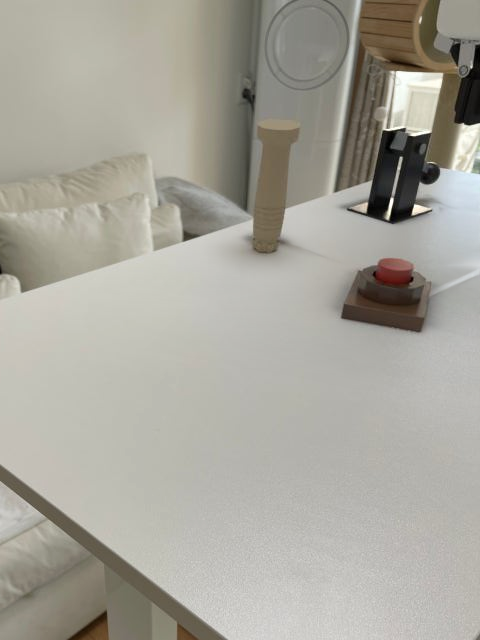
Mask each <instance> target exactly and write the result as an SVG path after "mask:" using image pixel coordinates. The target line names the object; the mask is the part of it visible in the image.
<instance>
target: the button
mask: <svg viewBox="0 0 480 640" xmlns="http://www.w3.org/2000/svg"><path fill="white" fill-rule="evenodd" d="M414 266H415V265H414V264H413V263H412V262H410V261H408V260H406V259H402V258H398V257H385V258H381V259H379V260H378V262H377V269H376V274H375V278H376V279H377V280H379V281H382V282H384V283H390V284H396V285H397V284H408V283H410V280H411V276H412V272H413V271H414V268H415V267H414Z"/></svg>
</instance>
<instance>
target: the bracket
mask: <svg viewBox="0 0 480 640" xmlns="http://www.w3.org/2000/svg"><path fill="white" fill-rule="evenodd" d="M397 131H400V132H405V133H407V132H406V131H407V127H406V126H396V127H391V128H386V129H382V131H381V134H380V135H381V136H380V141H379V146H378V150H377V155H376V161H375V164H374V165H375V166H374V171H373V176H372V181H371V186H370V192H369V196H368V201H366V202H364V203H360V204H357V205H353V206H350V207H347V208H346V211H348V212H352V213H354V214H358V215H361V216H365V217H368V218H371V219H374V220H378V221H381V222H385V223H387V224H391V225H395V224H399V223H401V222H404V221H408V220H411V219H413V218H417V217H419V216H422V215H425V214H429V213H431V212H433V208H430V207H427V206H423V205H420V204H415V203H416V199H417V197H418V196H417V195H418V192H419V187H420V183H421V182H420V179H421V175H422V171H423V167H424V162H426V159H427V154H428V150H429V146H430V141H431V137H432V132H431V131H426V130H425V131H420V132H415V133H411V135H408V136H407V140H406V145H405V149H404V154H403V157H400V156H397V155H396V154H395V153H394V152H393V151H392V150H391V149H390V146H391V144H392V142H393V140H394V138H395V135H396V133H397ZM401 158H402V159H401ZM400 159H401V163H400ZM399 163H400V167H399ZM398 168H399V171H398ZM397 174H398V178H397V182H396V177H397ZM395 182H396V187H395ZM394 187H395V191H394ZM393 191H394V194H393ZM392 195H393V197H392Z"/></svg>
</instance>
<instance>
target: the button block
mask: <svg viewBox="0 0 480 640" xmlns="http://www.w3.org/2000/svg"><path fill="white" fill-rule="evenodd" d="M377 265H378V264H377ZM377 265H376V264H375V265H371V266H367V267H365V268H364V267H363V268H362V270H357V273H356V275H355V278H354V279H353V282H352V284H351V287H350V288H349V291H348V293H347V295H346V298H345V300H344V302H343V305H342V310H341V316H340V318H341V319H343V320H349V321H355V322H360V323H365V324H370V325H377V326H382V327H386V326H387V327H388V328H392V327H394V328H393V329H397V328H399V329H398V330H403V329H404V331H408V330H410V331H409V332H414V331H415V332H414V333H419V332H421V333H422V330H423V327H424V323H425V319H426V313H427V309H428V303H429V299H430V298H429V297H430V292H431V287H432V281H428V280H427V278H426V277H425V276H423V275H422V274H421V273H420V272H419V271H415V270H413V272H412V276H411V280H410V283H408V284H397V285H396V284H390V283H384V282H382V281H379V280H377V279H376V278H375V274H376V269H377ZM387 327H386V328H387Z"/></svg>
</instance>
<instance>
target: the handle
mask: <svg viewBox="0 0 480 640" xmlns="http://www.w3.org/2000/svg"><path fill="white" fill-rule="evenodd" d="M300 130H301V123H299V122H297V121H296V120H291V119H283V118H267V119H263V120H260V121H258V123H257V128H256V138H257V139H258V140H259V141H260V142H261V144H262V150H261V158H260V165H259V172H258V179H257V183H256V184H257V185H256V189H255V190H256V191H255V197H254V205H253V220H252V235H253V237H252V248H253V250H256V251H257V252H258V253H267V254H271V253H272V252H276V251H277V250H278V249H279V246H280V238H281V234H282V231H283V225H284V221H285V220H284V219H285V214H286V206H287V196H288V195H287V194H288V179H289V165H290V154H291V148H292V147H291V146H292V144H295V143H296V142H297V141H298V140H299V137H300Z"/></svg>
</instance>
